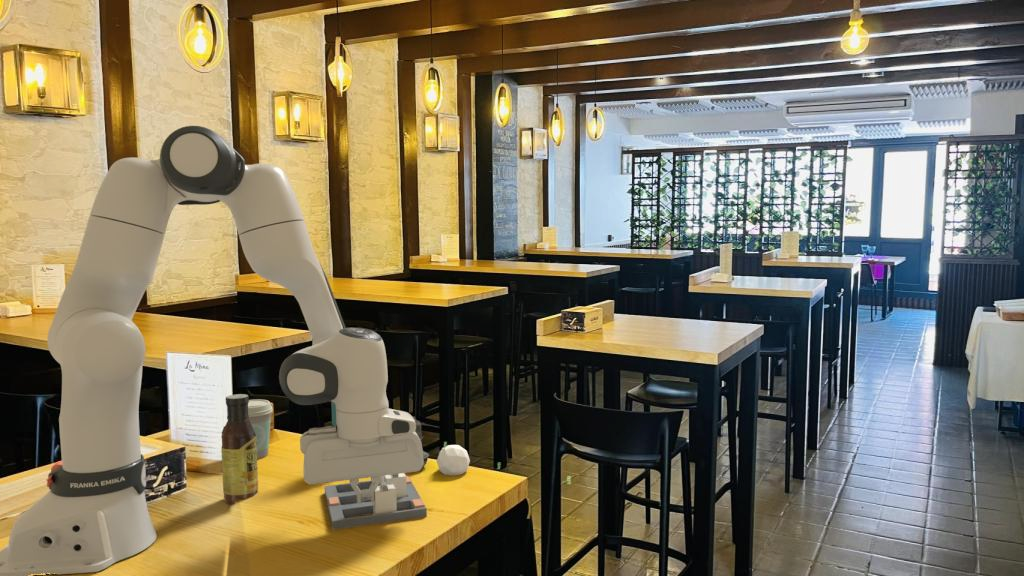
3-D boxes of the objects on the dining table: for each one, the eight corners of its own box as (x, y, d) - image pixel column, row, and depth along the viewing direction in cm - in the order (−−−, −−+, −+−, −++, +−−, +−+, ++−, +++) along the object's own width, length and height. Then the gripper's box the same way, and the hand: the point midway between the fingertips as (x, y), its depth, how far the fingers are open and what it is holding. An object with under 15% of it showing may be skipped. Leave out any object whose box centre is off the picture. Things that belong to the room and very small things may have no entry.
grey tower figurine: (424, 478, 147) (422, 420, 146) (396, 476, 148) (395, 419, 147) (432, 468, 153) (431, 413, 152) (406, 466, 154) (405, 411, 153)
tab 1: (387, 505, 130) (386, 475, 130) (384, 499, 133) (383, 470, 132) (406, 502, 131) (406, 473, 131) (403, 497, 134) (403, 468, 134)
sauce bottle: (255, 504, 134) (250, 399, 132) (220, 506, 133) (215, 401, 131) (261, 491, 141) (257, 391, 139) (228, 493, 140) (223, 393, 138)
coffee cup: (226, 461, 158) (224, 407, 157) (247, 448, 167) (244, 398, 166) (262, 462, 157) (260, 409, 156) (281, 450, 165) (279, 399, 164)
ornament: (471, 481, 145) (450, 456, 142) (444, 487, 148) (424, 463, 145) (479, 456, 150) (460, 432, 147) (454, 463, 153) (434, 440, 150)
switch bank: (332, 535, 120) (332, 519, 120) (324, 498, 136) (324, 484, 136) (426, 522, 126) (426, 506, 125) (408, 488, 142) (408, 474, 141)
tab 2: (375, 520, 124) (375, 489, 123) (373, 514, 126) (372, 483, 126) (396, 517, 125) (396, 486, 124) (394, 511, 127) (393, 481, 127)
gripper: (300, 434, 117) (303, 516, 118) (424, 421, 123) (426, 499, 124) (298, 424, 123) (302, 502, 124) (417, 412, 129) (419, 487, 130)
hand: (365, 501), depth 124 cm, fingers closed
